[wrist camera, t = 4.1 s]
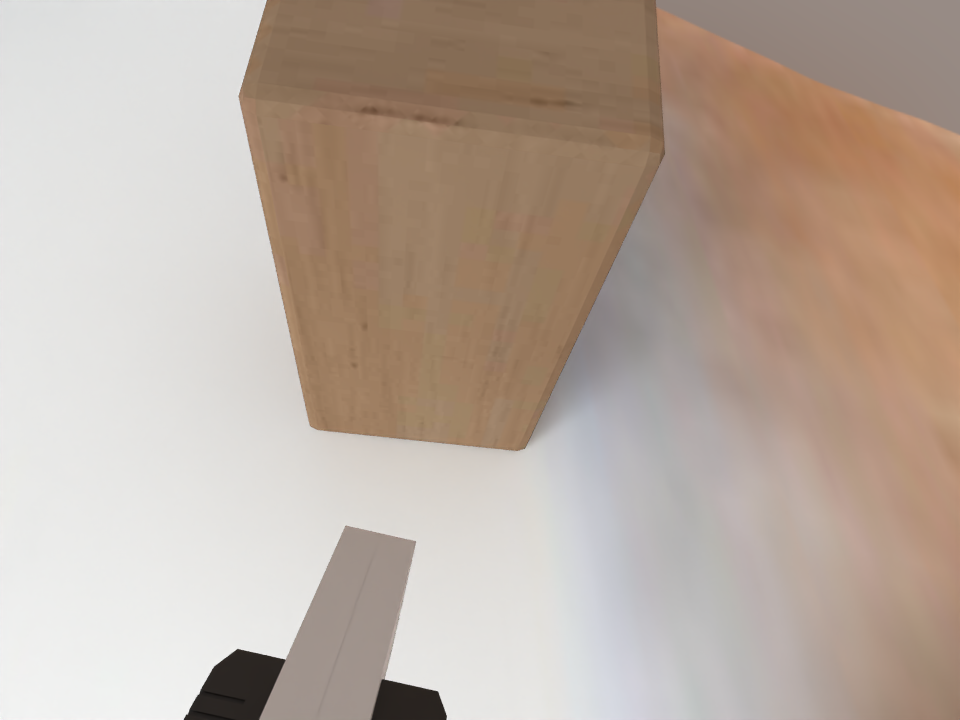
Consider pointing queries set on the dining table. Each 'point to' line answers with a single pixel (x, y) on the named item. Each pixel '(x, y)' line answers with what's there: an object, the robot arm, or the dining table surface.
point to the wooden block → (447, 198)
